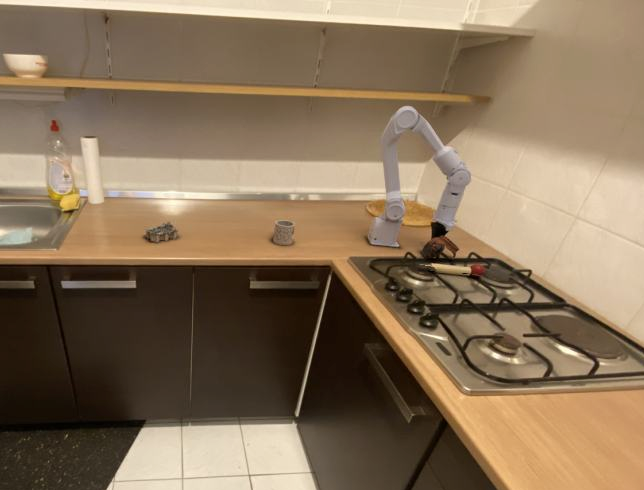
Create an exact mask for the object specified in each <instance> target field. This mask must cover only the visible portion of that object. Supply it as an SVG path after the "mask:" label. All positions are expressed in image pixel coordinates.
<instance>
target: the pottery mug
mask: <svg viewBox="0 0 644 490" xmlns="http://www.w3.org/2000/svg"><path fill="white" fill-rule="evenodd" d="M434 243H435V245H434ZM445 249H447V250H448V251H450V252H451V253H452V254H453V255H452V257H451V258H454V259H455V258H456V256H457V252H458V251H460V248H459V247H458V245H456V243H454V242H453V241H452V240H451V239H450V238H448V237H447V236H446V235H445V236H444V235H441V236H440V237H436V238H433V239H431V238H430V240H428V241H427V243H425V245H424V246H423V247H422V249H421V251H420V253H421V255H422V256H423V257H424V258H427V257H428V256H429V258H432V259H435V258H434V257H436V256H437V255H438V254H439V253H440V254H441V253H442V252H444V251H445ZM440 254H439V255H440ZM439 255H438V256H439ZM438 256H437V257H438ZM437 257H436V258H437Z"/></svg>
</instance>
